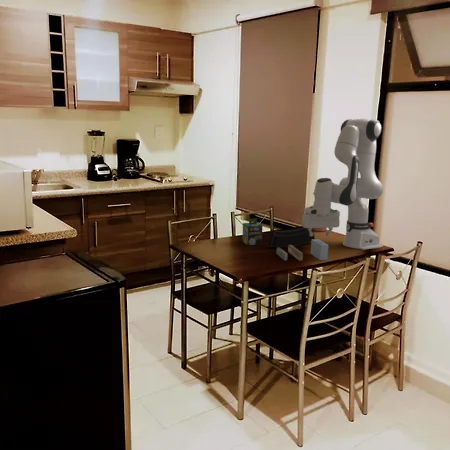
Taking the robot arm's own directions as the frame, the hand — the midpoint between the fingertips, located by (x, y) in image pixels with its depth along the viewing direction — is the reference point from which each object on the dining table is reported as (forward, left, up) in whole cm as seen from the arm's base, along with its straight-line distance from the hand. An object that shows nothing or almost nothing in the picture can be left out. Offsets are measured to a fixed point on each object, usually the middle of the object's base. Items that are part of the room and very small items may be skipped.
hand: (319, 235), depth 245 cm
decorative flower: (-28, -55, -12) cm, 63 cm away
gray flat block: (+19, -3, -11) cm, 23 cm away
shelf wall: (+12, -3, -11) cm, 17 cm away
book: (-1, 0, -12) cm, 12 cm away
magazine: (+6, -23, -12) cm, 27 cm away
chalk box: (+26, -32, -12) cm, 43 cm away
